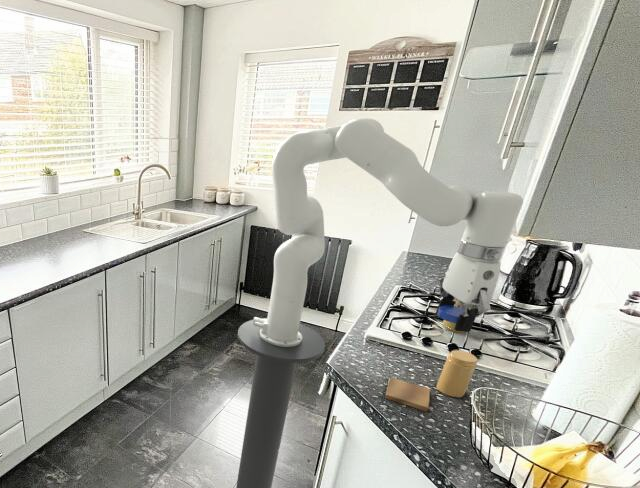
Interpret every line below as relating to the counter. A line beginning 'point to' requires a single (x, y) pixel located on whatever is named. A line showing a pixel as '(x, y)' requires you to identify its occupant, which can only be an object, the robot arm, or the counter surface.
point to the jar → (457, 373)
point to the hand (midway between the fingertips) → (451, 322)
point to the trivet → (408, 394)
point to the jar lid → (450, 313)
